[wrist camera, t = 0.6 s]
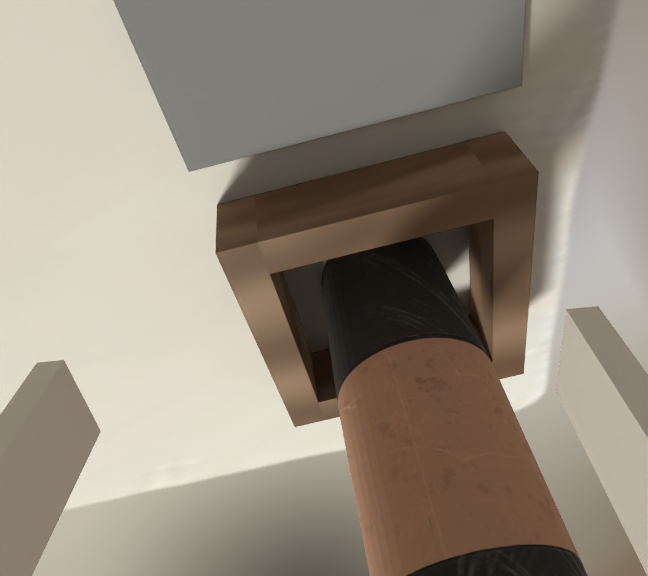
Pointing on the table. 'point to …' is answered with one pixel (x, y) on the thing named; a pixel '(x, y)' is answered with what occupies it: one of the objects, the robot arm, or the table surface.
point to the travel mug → (432, 428)
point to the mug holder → (379, 230)
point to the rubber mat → (314, 65)
